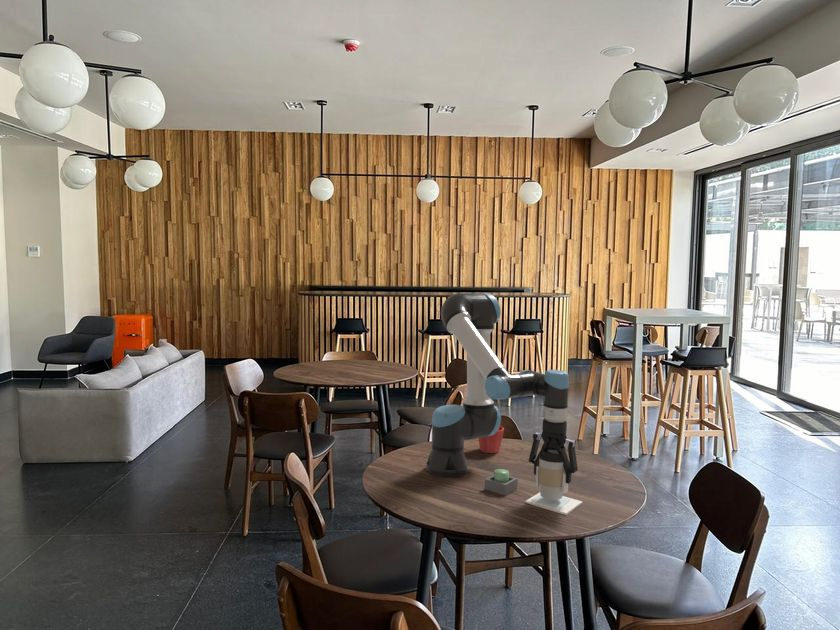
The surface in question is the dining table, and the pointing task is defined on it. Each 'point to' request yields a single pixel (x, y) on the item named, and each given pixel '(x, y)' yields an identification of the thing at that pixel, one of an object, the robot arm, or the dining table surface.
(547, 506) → the white flat piece
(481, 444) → the flower pot
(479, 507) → the dining table surface
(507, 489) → the button box
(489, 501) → the dining table surface
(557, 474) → the coffee cup
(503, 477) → the button
